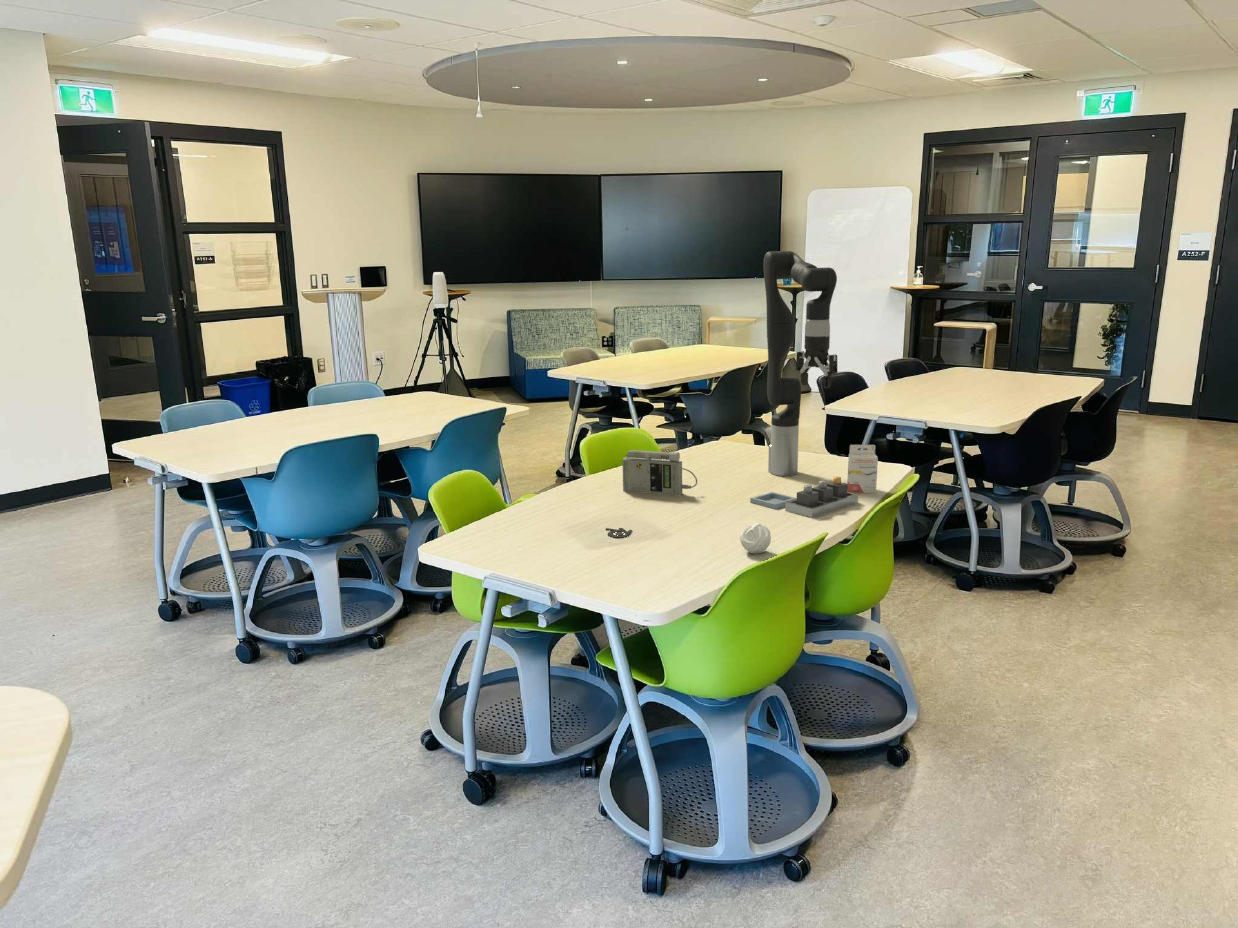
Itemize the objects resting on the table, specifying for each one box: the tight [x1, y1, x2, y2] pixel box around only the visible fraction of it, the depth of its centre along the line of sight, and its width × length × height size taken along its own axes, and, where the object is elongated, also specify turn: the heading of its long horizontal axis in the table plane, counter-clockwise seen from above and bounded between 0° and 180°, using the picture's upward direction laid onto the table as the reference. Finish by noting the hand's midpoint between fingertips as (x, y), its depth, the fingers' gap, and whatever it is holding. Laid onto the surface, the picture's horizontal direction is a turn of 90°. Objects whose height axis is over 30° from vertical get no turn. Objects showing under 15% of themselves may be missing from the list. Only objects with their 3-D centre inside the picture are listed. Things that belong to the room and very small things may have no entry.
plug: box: [827, 476, 848, 498], centre depth 276 cm, size 4×4×8 cm
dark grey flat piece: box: [605, 527, 633, 539], centre depth 254 cm, size 9×8×1 cm
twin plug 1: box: [796, 484, 819, 508], centre depth 267 cm, size 4×4×8 cm
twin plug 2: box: [812, 480, 833, 503], centre depth 271 cm, size 4×4×8 cm
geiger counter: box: [621, 449, 698, 497], centre depth 292 cm, size 14×6×25 cm
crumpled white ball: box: [739, 522, 772, 554], centre depth 235 cm, size 8×8×8 cm
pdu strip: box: [784, 491, 859, 519], centre depth 272 cm, size 10×22×3 cm, turn 130°
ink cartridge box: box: [846, 444, 879, 494], centre depth 288 cm, size 9×5×15 cm, turn 84°
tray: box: [749, 491, 797, 510], centre depth 278 cm, size 10×10×2 cm
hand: (815, 386), depth 281 cm, fingers open, 8 cm apart
